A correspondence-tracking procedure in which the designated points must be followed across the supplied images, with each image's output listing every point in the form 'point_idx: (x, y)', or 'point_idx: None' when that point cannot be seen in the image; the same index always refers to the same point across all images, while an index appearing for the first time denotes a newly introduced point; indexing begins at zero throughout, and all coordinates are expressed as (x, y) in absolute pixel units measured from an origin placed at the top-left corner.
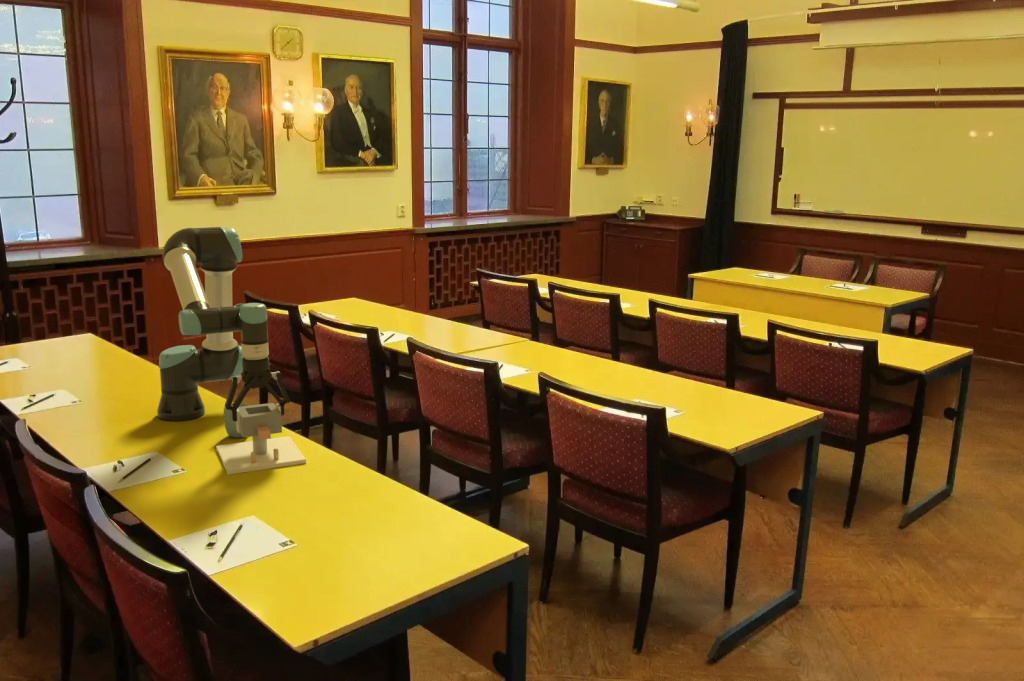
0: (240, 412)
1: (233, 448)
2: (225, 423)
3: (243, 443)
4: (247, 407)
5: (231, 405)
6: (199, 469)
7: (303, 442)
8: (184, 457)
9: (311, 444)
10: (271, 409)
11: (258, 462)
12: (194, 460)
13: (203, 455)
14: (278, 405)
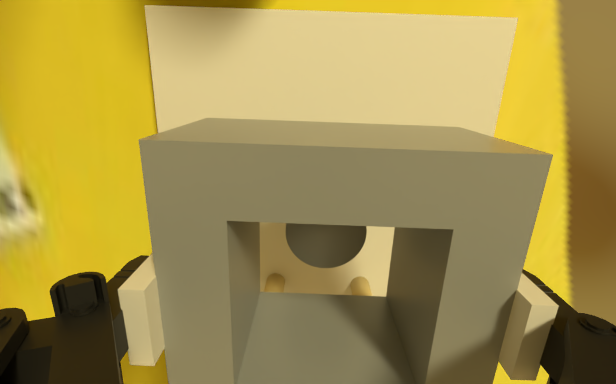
0: (172, 324)
1: (221, 85)
2: None
3: (276, 31)
4: (254, 201)
5: (41, 370)
6: (88, 222)
7: (544, 91)
8: (14, 56)
9: (561, 135)
10: (443, 348)
11: (291, 288)
12: (61, 115)
13: (96, 67)
14: (531, 352)
